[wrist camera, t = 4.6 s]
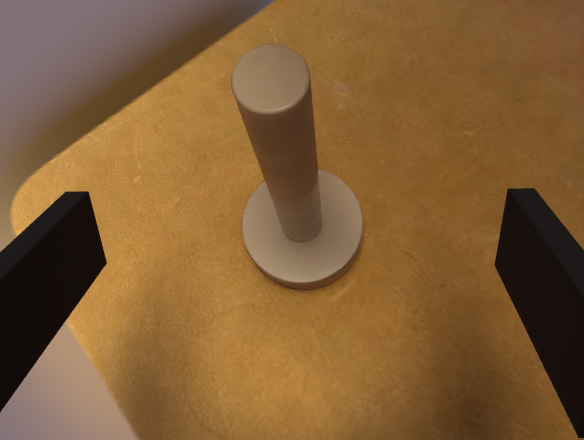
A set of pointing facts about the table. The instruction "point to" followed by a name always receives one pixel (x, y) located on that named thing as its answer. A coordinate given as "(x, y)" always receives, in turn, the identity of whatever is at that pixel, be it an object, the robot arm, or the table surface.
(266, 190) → the stick
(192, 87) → the table surface
